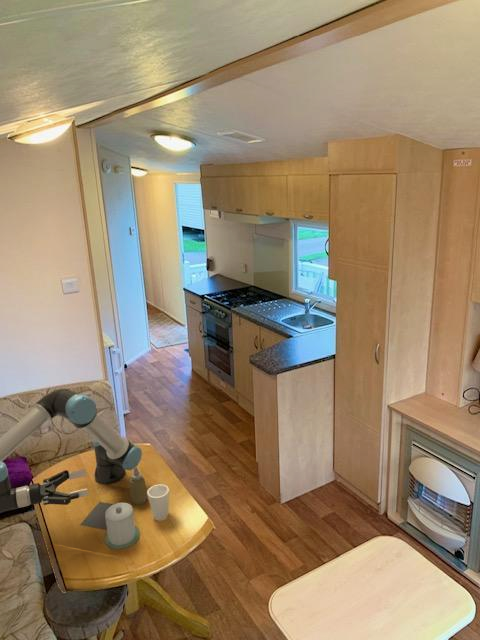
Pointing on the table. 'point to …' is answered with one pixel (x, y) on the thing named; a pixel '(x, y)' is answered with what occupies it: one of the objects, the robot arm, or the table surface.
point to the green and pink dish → (123, 544)
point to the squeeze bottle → (137, 488)
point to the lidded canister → (120, 523)
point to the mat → (97, 516)
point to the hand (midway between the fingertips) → (86, 481)
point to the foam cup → (159, 501)
